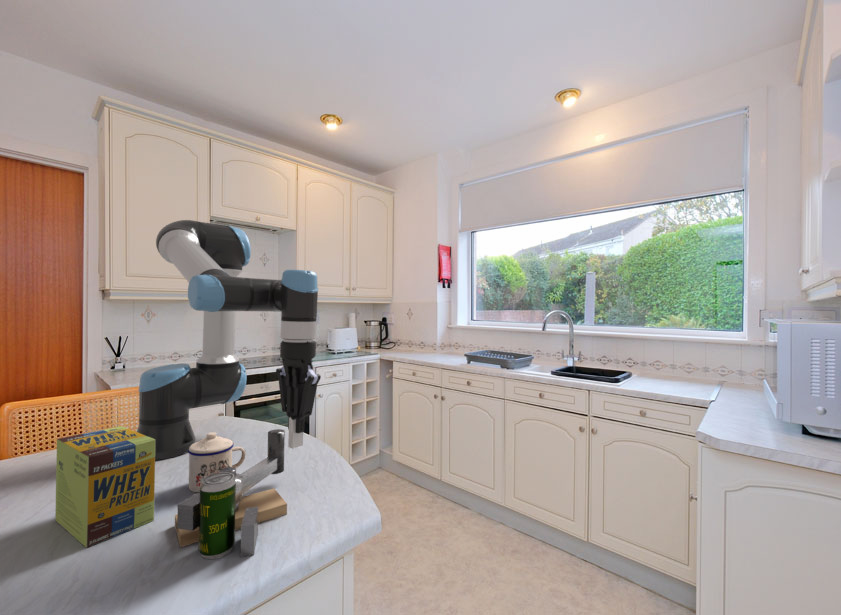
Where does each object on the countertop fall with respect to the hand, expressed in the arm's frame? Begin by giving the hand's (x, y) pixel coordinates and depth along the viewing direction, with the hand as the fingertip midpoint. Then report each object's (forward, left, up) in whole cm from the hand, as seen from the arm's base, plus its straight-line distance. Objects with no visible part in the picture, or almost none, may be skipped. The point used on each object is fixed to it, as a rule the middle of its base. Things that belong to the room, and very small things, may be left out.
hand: (295, 445), depth 86 cm
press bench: (+5, -15, -10) cm, 18 cm away
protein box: (-9, -33, -10) cm, 36 cm away
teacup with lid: (-14, -13, -10) cm, 22 cm away
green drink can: (+13, -18, -10) cm, 24 cm away
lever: (+2, -12, -7) cm, 14 cm away
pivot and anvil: (+10, -14, -10) cm, 20 cm away
